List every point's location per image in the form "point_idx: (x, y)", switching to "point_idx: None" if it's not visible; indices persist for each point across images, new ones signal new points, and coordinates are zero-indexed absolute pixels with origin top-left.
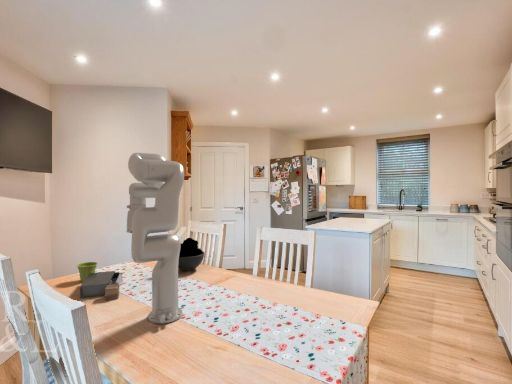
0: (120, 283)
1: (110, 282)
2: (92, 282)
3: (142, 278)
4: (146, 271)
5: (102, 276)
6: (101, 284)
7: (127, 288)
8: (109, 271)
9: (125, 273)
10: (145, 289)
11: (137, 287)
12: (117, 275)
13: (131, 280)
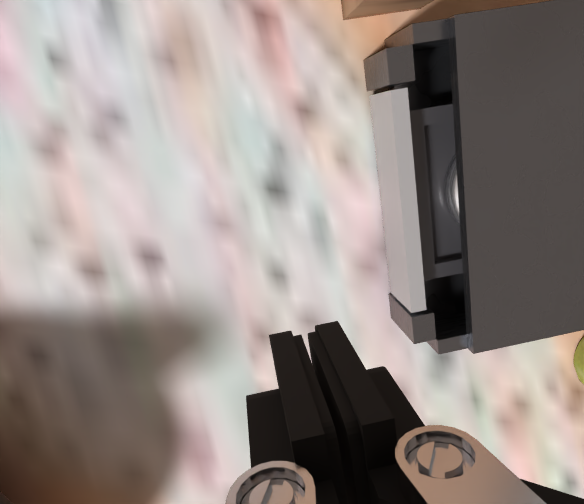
0: (385, 227)
1: (453, 171)
2: (582, 67)
3: (260, 352)
4: None
5: (538, 219)
6: (505, 8)
7: (317, 150)
8: (511, 343)
9: None
10: (175, 100)
11: (249, 158)
12: (438, 329)
13: (329, 318)
